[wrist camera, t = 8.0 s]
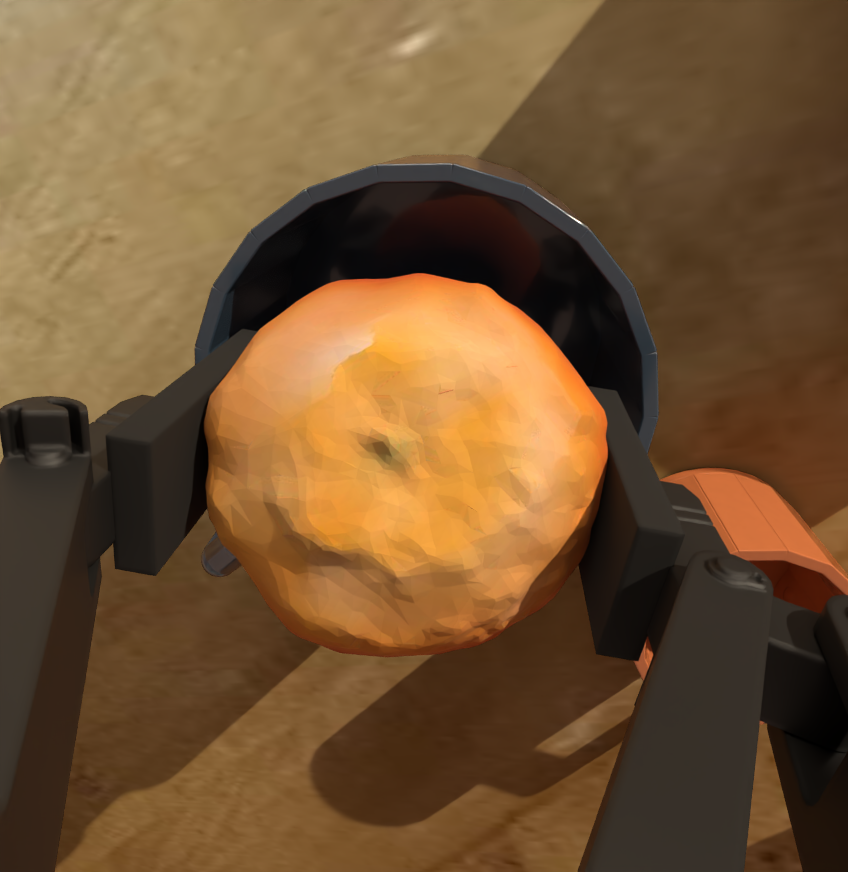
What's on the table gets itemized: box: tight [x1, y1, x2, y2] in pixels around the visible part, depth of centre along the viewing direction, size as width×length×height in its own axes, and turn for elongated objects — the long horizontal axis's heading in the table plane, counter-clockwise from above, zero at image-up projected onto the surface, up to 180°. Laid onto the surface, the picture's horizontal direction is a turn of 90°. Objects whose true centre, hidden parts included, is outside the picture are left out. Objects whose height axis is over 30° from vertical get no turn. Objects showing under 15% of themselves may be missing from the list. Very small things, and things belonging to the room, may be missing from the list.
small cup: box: [634, 468, 848, 725], centre depth 24 cm, size 10×7×6 cm
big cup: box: [195, 155, 659, 577], centre depth 21 cm, size 15×12×8 cm
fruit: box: [204, 273, 608, 657], centre depth 15 cm, size 8×8×8 cm
